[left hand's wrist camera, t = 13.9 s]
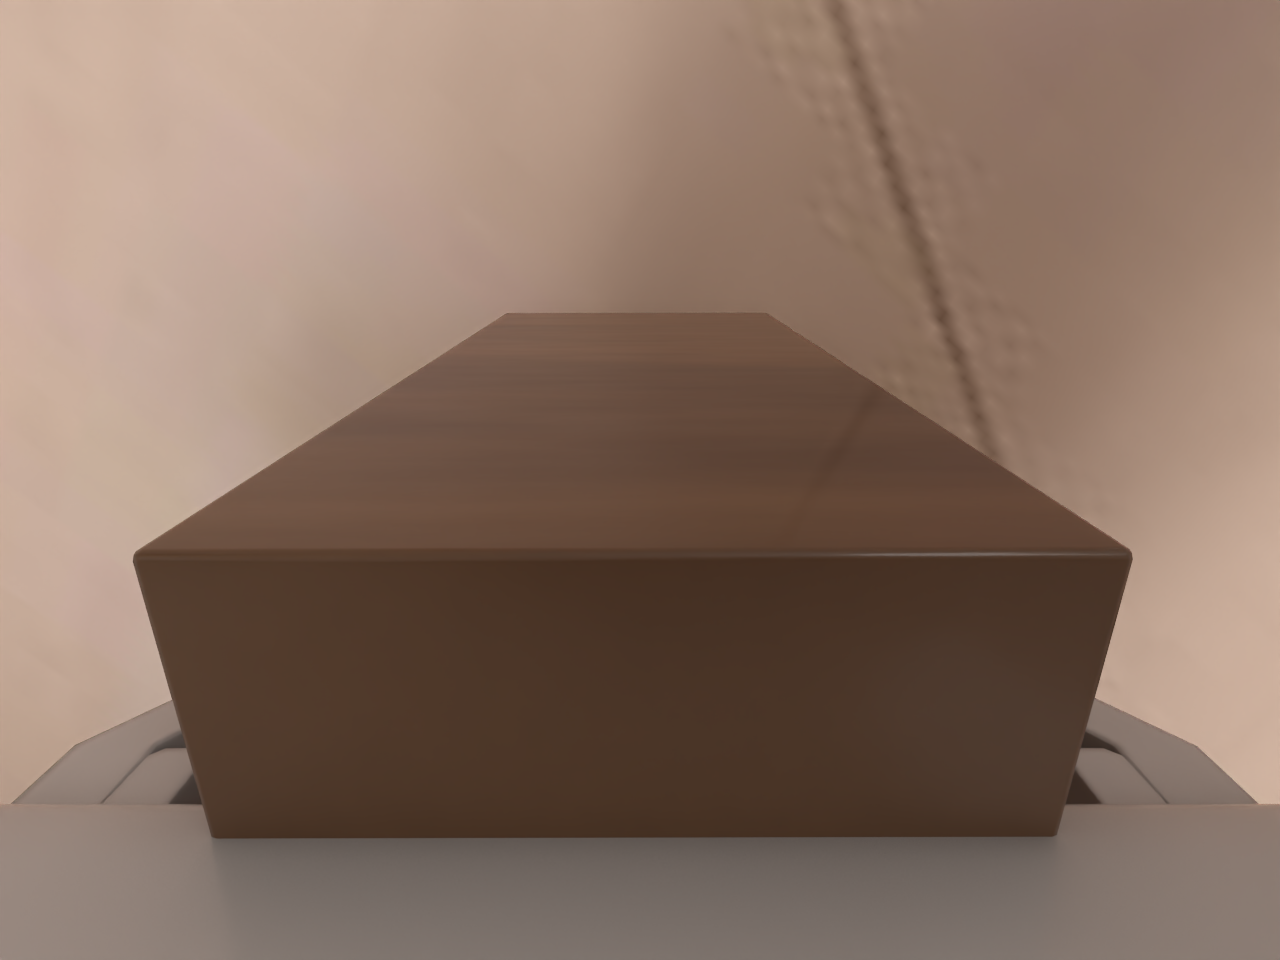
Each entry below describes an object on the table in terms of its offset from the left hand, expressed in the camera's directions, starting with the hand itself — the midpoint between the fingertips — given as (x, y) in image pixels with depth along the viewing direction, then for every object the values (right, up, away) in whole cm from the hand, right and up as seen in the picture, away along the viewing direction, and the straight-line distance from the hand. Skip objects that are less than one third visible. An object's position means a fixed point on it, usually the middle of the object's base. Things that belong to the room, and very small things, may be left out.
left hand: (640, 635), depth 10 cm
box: (0, -4, +9) cm, 10 cm away
